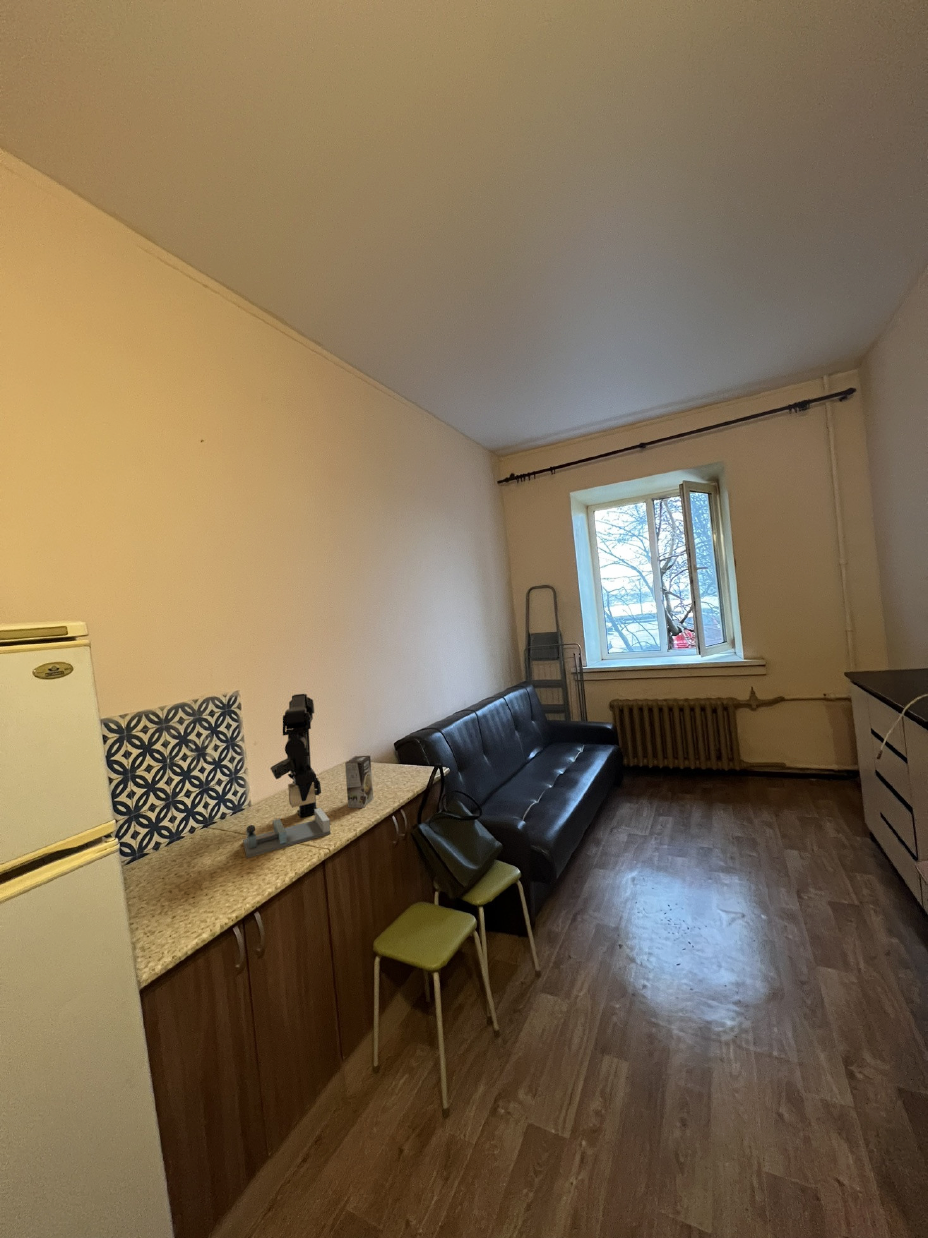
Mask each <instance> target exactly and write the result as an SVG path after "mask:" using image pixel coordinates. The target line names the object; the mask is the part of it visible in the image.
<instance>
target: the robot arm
mask: <svg viewBox="0 0 928 1238" xmlns="http://www.w3.org/2000/svg"><path fill="white" fill-rule="evenodd" d="M313 714H315V703H314V699H312V698H310V697H309V696H308V694H307V693H298V694H297V693H296V694H294V695H292V696H291V700H289V702H288V709H286V710H285V712H284V714H283V715H282V736H283V737H284V736H287V741H286V743H285V745H284V752H285V754H286V755H287V757H286V758H285V759H283V760H281V761H279V762H277V763H275V764H274V765H272V766H271V767H270V771H271V772H272V775H273V777H274V778H275V779H276V780H279V779H280V778H282V777H283V776H285V775H286V774H287V776H288V777H289V778H290V779H292V780H293V781H292V783H294V784H295V785H297V786H298V788H299V792H300V796H301V799H302V801H306V799H307V796H308V793H309V790H310V788H311V785H312V783H314V792H315V802H313V803H309V804H305V805H301V806H298V807H299V808H298V810H297V811H296V813H297V814H298V816H299V817H300V818H305V817H308V816H311V815H315V812H314V809H318V807H317V799H316V796H320V794H322V786H321V781H320V780H319V778H318V777H317V774H316V772H315V770H314V769H313V768H312V765H311V764H312V763H311V762H312V761H311V744H310V743H311V741H310V730H311V729H312V727H311V726H312V721H313V719H314V718H313V717H314V715H313Z"/></svg>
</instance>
